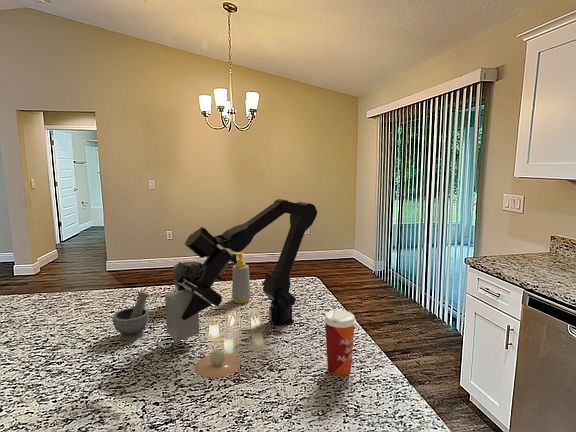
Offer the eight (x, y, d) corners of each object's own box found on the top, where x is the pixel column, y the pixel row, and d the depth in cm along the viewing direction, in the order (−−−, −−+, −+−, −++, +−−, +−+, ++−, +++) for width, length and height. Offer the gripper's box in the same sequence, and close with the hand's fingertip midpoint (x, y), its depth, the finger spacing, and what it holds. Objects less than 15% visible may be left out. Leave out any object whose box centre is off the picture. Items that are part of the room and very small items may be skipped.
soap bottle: (234, 296, 143) (233, 250, 140) (252, 297, 142) (251, 250, 139) (229, 303, 136) (228, 255, 133) (248, 304, 135) (247, 255, 132)
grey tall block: (189, 326, 107) (187, 288, 105) (199, 333, 102) (197, 295, 101) (167, 332, 103) (164, 294, 101) (176, 341, 98) (174, 300, 97)
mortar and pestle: (130, 346, 105) (127, 305, 103) (107, 339, 109) (103, 299, 107) (160, 330, 115) (158, 292, 113) (138, 324, 119) (135, 287, 117)
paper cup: (347, 382, 87) (348, 324, 85) (318, 372, 91) (318, 317, 89) (360, 366, 94) (361, 313, 92) (332, 358, 98) (332, 306, 96)
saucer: (235, 355, 100) (234, 337, 99) (245, 378, 89) (244, 357, 89) (192, 363, 96) (191, 344, 95) (197, 387, 86) (196, 366, 85)
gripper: (178, 245, 109) (142, 290, 104) (209, 257, 95) (169, 311, 89) (204, 266, 115) (171, 310, 110) (237, 281, 101) (201, 332, 96)
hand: (177, 315), depth 101 cm, fingers closed on grey tall block, 6 cm apart
